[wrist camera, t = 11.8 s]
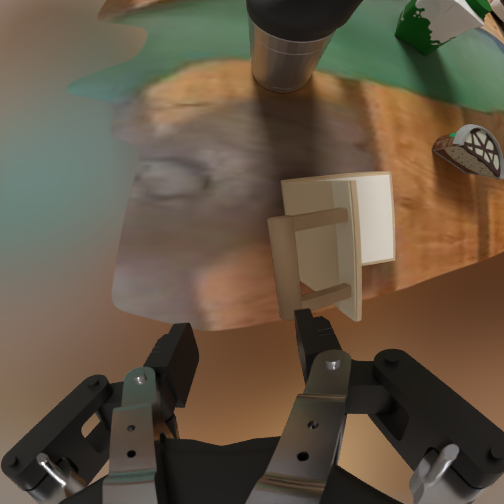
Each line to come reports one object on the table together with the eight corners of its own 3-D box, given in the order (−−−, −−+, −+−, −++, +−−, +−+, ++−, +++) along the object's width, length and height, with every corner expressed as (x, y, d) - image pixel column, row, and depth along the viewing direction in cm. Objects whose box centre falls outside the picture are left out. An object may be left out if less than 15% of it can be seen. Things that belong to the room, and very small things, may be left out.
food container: (475, 148, 36) (509, 148, 26) (469, 176, 38) (505, 180, 28) (431, 116, 35) (466, 108, 26) (425, 146, 37) (461, 143, 27)
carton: (280, 180, 40) (285, 180, 32) (368, 171, 39) (391, 171, 31) (290, 258, 43) (297, 276, 35) (373, 246, 42) (395, 260, 34)
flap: (286, 182, 32) (229, 191, 30) (355, 180, 19) (269, 191, 17) (297, 275, 34) (245, 288, 33) (361, 320, 22) (288, 346, 20)
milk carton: (428, 61, 32) (495, 26, 13) (388, 35, 32) (444, -17, 12) (434, 34, 30) (491, -3, 11) (396, 9, 29) (444, -41, 10)
